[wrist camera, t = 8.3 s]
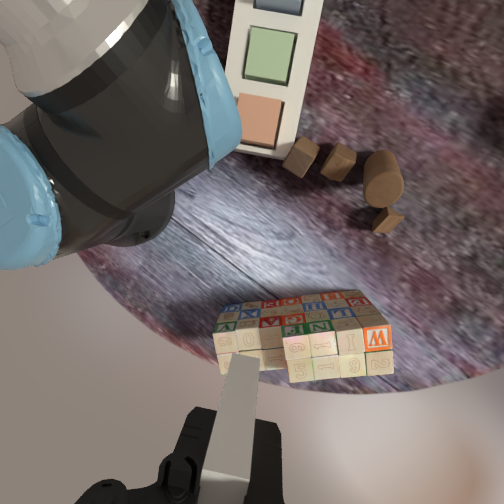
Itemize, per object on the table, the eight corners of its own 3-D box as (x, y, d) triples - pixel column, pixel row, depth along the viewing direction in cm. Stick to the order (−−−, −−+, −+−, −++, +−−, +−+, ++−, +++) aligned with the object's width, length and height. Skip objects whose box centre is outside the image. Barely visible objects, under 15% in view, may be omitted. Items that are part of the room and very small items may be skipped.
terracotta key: (236, 141, 39) (232, 137, 35) (242, 101, 38) (239, 92, 34) (273, 148, 38) (273, 144, 35) (280, 108, 37) (281, 99, 34)
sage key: (247, 84, 38) (244, 74, 35) (254, 41, 37) (252, 26, 34) (284, 90, 38) (285, 81, 35) (292, 48, 37) (294, 34, 34)
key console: (220, 148, 41) (214, 144, 37) (247, -34, 36) (244, -61, 33) (289, 161, 41) (290, 158, 37) (326, -21, 36) (333, -47, 32)
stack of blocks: (230, 339, 48) (214, 390, 36) (223, 304, 47) (205, 344, 35) (363, 326, 46) (395, 375, 34) (360, 288, 44) (392, 325, 32)
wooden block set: (286, 162, 43) (268, 184, 35) (319, 106, 38) (307, 116, 30) (388, 227, 44) (393, 264, 35) (434, 179, 38) (454, 209, 30)
